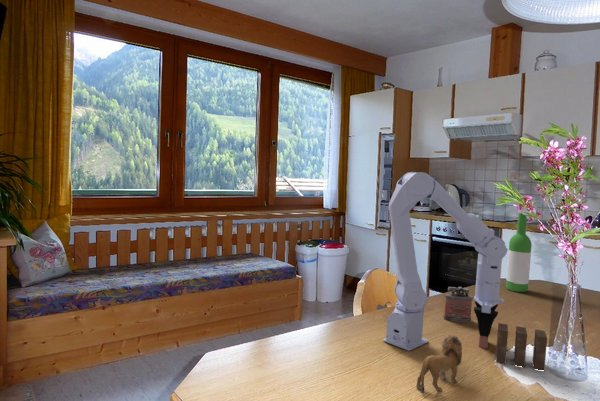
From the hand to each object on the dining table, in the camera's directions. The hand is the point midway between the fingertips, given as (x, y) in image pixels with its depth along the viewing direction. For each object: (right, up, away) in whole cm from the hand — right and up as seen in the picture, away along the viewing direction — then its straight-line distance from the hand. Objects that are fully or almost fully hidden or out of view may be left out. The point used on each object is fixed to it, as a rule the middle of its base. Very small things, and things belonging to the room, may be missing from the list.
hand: (484, 332), depth 114 cm
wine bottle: (+36, -1, +56) cm, 66 cm away
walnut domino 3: (+8, -5, -12) cm, 15 cm away
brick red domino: (0, -3, 0) cm, 3 cm away
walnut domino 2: (+4, -4, -10) cm, 12 cm away
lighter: (0, -2, +19) cm, 19 cm away
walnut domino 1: (0, -4, -9) cm, 9 cm away
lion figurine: (-19, -4, -22) cm, 29 cm away
